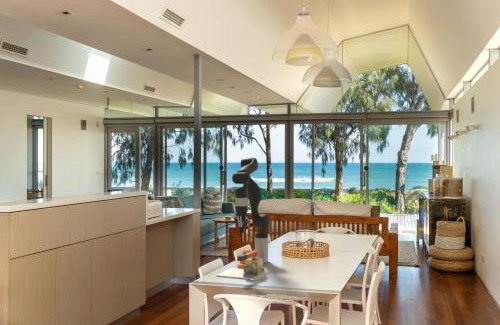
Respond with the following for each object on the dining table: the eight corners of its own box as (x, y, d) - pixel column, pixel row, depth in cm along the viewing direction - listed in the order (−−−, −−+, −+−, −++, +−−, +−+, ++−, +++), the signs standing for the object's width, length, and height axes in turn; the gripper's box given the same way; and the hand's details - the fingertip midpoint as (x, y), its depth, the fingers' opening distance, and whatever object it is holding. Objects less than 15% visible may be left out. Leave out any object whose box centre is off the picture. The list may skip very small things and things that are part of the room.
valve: (254, 269, 322) (254, 252, 322) (266, 270, 319) (266, 253, 319) (241, 277, 302) (241, 258, 302) (253, 278, 299) (253, 259, 299)
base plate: (231, 269, 327) (231, 268, 327) (268, 272, 317) (268, 271, 317) (216, 276, 307) (216, 275, 307) (256, 280, 297) (256, 278, 297)
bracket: (237, 268, 329) (237, 250, 329) (240, 266, 336) (240, 248, 336) (252, 270, 326) (252, 251, 326) (256, 267, 333) (256, 249, 332)
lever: (252, 254, 313) (252, 250, 313) (258, 255, 311) (258, 250, 311) (236, 260, 293) (236, 256, 293) (242, 261, 291) (242, 256, 291)
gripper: (229, 204, 310) (230, 232, 311) (244, 206, 301) (244, 235, 301) (238, 203, 316) (239, 231, 316) (253, 205, 306) (253, 233, 307)
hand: (241, 233), depth 309 cm, fingers closed
